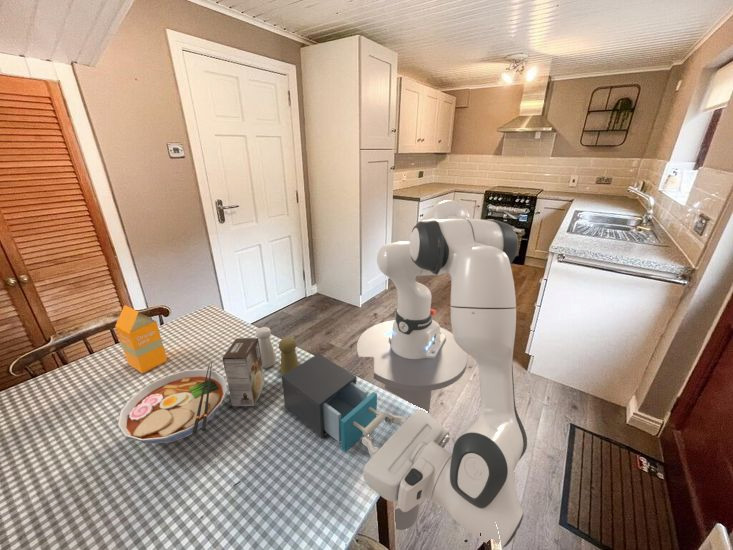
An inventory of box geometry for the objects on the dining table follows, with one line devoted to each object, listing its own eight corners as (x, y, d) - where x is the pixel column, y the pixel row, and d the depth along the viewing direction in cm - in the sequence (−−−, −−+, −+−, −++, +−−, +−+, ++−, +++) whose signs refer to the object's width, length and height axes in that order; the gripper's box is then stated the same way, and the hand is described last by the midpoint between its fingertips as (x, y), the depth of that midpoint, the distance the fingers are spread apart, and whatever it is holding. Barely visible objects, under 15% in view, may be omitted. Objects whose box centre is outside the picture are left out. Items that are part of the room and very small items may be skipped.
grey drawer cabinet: (356, 407, 81) (356, 376, 78) (321, 438, 72) (319, 404, 69) (320, 383, 90) (318, 353, 86) (285, 407, 81) (281, 376, 77)
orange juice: (142, 373, 93) (123, 316, 86) (127, 364, 97) (108, 309, 90) (168, 360, 100) (152, 306, 92) (153, 351, 104) (138, 299, 96)
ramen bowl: (145, 397, 84) (137, 374, 81) (234, 379, 91) (229, 357, 88) (107, 483, 62) (94, 455, 59) (228, 451, 69) (222, 424, 66)
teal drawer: (391, 431, 73) (392, 403, 70) (360, 465, 65) (360, 435, 62) (338, 395, 84) (337, 369, 81) (306, 420, 76) (304, 393, 73)
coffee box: (244, 383, 90) (236, 337, 84) (265, 383, 90) (259, 337, 84) (231, 407, 81) (221, 357, 75) (255, 407, 81) (247, 357, 75)
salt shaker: (255, 369, 96) (249, 334, 91) (261, 358, 101) (256, 324, 96) (273, 369, 95) (269, 334, 91) (279, 358, 101) (275, 324, 96)
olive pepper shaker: (277, 375, 93) (273, 345, 89) (285, 362, 99) (281, 334, 95) (295, 377, 92) (292, 347, 88) (302, 364, 98) (300, 335, 94)
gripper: (456, 423, 65) (403, 390, 74) (402, 497, 51) (344, 446, 59) (451, 444, 68) (401, 410, 76) (398, 520, 53) (343, 468, 62)
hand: (375, 426), depth 67 cm, fingers closed on teal drawer, 6 cm apart
